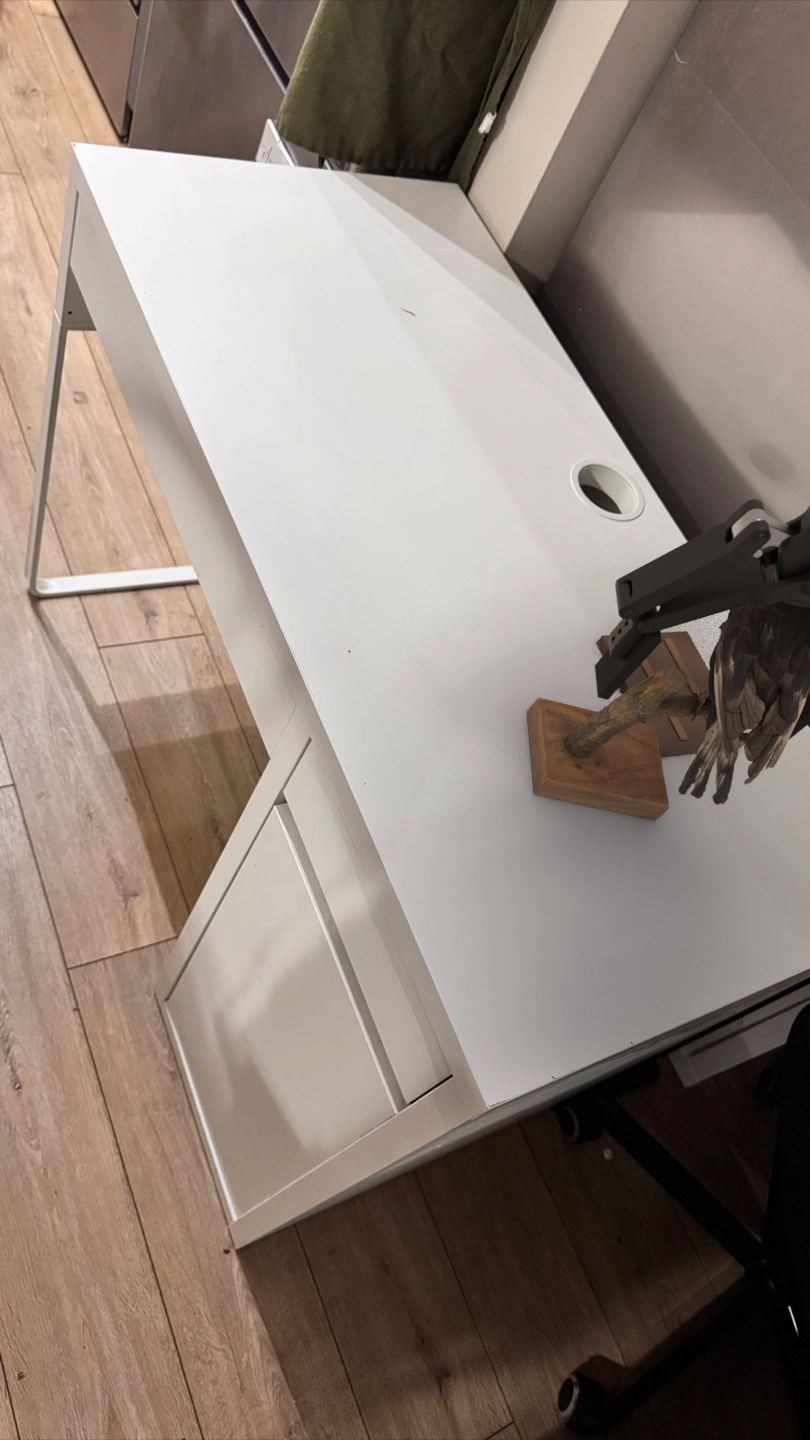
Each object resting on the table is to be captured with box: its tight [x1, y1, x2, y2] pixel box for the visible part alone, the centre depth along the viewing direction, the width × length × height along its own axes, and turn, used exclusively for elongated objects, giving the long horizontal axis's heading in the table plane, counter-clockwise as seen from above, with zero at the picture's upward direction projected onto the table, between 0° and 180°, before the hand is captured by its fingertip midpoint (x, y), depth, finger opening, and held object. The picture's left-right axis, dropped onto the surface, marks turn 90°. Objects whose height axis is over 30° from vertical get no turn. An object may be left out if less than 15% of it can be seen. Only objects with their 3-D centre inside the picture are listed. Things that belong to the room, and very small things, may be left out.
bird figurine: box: [526, 564, 810, 821], centre depth 69 cm, size 11×14×25 cm
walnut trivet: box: [596, 630, 745, 758], centre depth 88 cm, size 12×10×1 cm
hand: (688, 707), depth 69 cm, fingers open, 13 cm apart
